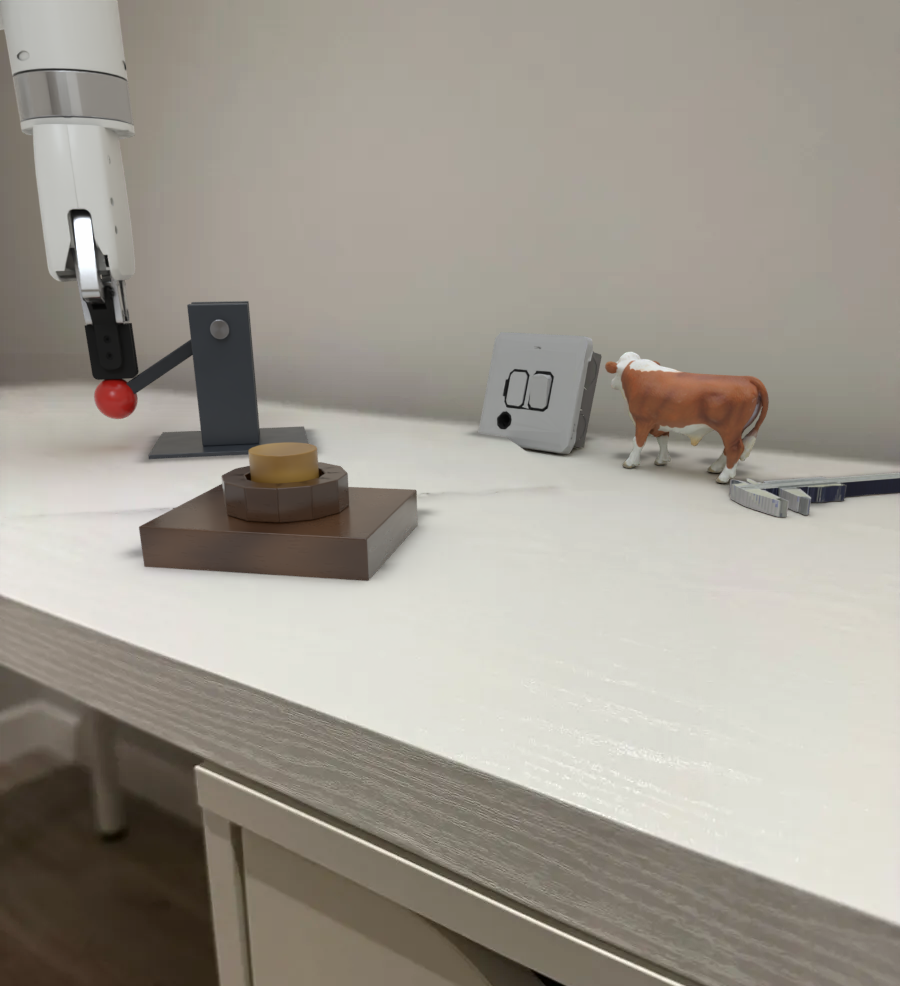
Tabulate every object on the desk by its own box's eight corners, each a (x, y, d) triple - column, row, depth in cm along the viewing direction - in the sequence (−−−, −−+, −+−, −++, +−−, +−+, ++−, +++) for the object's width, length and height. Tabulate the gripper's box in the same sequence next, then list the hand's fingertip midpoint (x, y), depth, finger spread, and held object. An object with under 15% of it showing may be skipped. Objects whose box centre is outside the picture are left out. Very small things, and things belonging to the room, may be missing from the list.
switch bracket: (150, 470, 67) (128, 306, 62) (164, 446, 76) (146, 301, 72) (310, 463, 69) (299, 303, 65) (305, 439, 78) (295, 299, 74)
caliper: (786, 501, 52) (713, 480, 57) (783, 519, 53) (712, 496, 58) (1008, 468, 60) (927, 451, 66) (1005, 483, 61) (924, 466, 66)
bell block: (143, 567, 45) (132, 491, 44) (228, 516, 54) (222, 451, 53) (368, 582, 43) (365, 501, 41) (417, 525, 52) (416, 458, 50)
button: (240, 487, 46) (236, 454, 45) (267, 472, 49) (264, 441, 49) (305, 490, 45) (302, 456, 45) (328, 474, 48) (326, 443, 48)
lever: (109, 430, 68) (81, 395, 67) (116, 423, 71) (89, 389, 70) (248, 336, 68) (222, 299, 67) (248, 333, 71) (224, 297, 69)
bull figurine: (618, 452, 71) (624, 348, 69) (769, 479, 62) (784, 360, 59) (582, 460, 69) (587, 352, 66) (735, 490, 59) (749, 365, 56)
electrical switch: (475, 443, 76) (483, 330, 73) (511, 440, 79) (520, 333, 77) (566, 457, 70) (578, 335, 67) (600, 453, 74) (613, 338, 71)
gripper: (44, 126, 68) (84, 369, 75) (-12, 90, 54) (43, 392, 61) (144, 126, 69) (175, 366, 76) (115, 92, 56) (155, 387, 62)
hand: (116, 377), depth 68 cm, fingers closed
